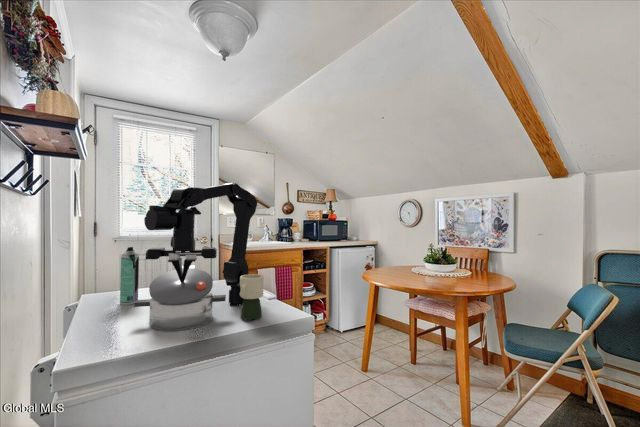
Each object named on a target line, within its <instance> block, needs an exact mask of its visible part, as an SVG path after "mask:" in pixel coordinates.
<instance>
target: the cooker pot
mask: <svg viewBox="0 0 640 427" xmlns="http://www.w3.org/2000/svg"><path fill="white" fill-rule="evenodd" d="M226 298H227V297H226V294H219V295H213V293H212V292H211V291H210V292H209V293H208V294H207V295H206V296H204V297H203V298H201V299H199V300H197V301H194V302H191V303H188V304H182V305H166V304H162V303H159V302H157V301H155V300H153V299H152V297H150V299H149V298H148V299H138V300H137V301H136V302H135V303H134V304H133V305H134V306H133V307H134V308H139V307H140V308H141V307H149V318H148V319H149V323H148V324H149V325H148V326H149V328H150V329H152V330H153V331H158V332H159V331H160V332H180V331H187V330H192V329H196V328H199V327H202V326H204V325H206V324H207V325H208V324H209V323H210V322H211V321H212V319H213V303H217V302H218V303H219V302H226Z"/></svg>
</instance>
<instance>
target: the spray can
mask: <svg viewBox="0 0 640 427" xmlns="http://www.w3.org/2000/svg"><path fill="white" fill-rule="evenodd" d="M139 267H140V255H139V253H138V252H137V251H135V249H134V247H133V246H128V247H127V248H126V250H125V252H123V253H121V256H120V279H119V280H120V283H119V284H120V288H119V290H120V291H119V305H121V306H130V305H134V303H135V302H136V301H137V300H139V273H140V270H139V269H140V268H139Z"/></svg>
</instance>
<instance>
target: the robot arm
mask: <svg viewBox="0 0 640 427" xmlns="http://www.w3.org/2000/svg"><path fill="white" fill-rule="evenodd" d="M225 196H226V198H227V199H228V202H230V203H231V204H232V206H233V207H232V210H233V213H234V215H235V224H234V232H233V241H232V247H231V248H232V249H231V253H230V254H231V255H230V258H229V259H228V261H224V263H223V270H222V271H221V272H222V277H223V279H224V280H225V284H226V286H229V287H230V289H229V290H228V303H229V305H230V306H231V307H232V306H242V304H243V301H244V298H242V297H241V296H240V291H241V288H240V276H242V275H248V274H249V264H248V263H247V260H246V254H247V248H248V247H247V246H248V239H249V231H250V223H251V219H252V217H253V216H254V215H255V213H256V210H257V207H258V199H257V198H256V196H255V195H253V194H252V193H251V192H249V191H248V190H246V189H245V188H242V187H241V186H240V185H239V184H238V183H236V182H229V183H228V182H227V183H224V184H219V185H213V186H206V187H195V186H194V187H191V186H189V187H176V188H174V189H172V191H171V193H170V196H169V198H168V199H167V200H166V201H165V203H164V204H163V206H162V205H161V206H160V205H153V204H152V205H149V210H148V211H146V214H145V217H143V218H144V226H145V229H146V230H148V231H171V230H172V231H173V232H172V236H171V239H170V247H171V248H172V249H168V250H167V249H166V248H165V247H151V248H148V249H147V250H146V252H145V260H158V259H160V258H162V257H168V260H167V262H168V263H171V264H172V266H173V267H174V270H176V272H177V274H178V277H179V279H180V282H181V283H182V282H184V281H185V278H186V275H187V272H188V269H189V267H190V265H192V263H194V262H196V261H197V259H198V257H202V258H203V259H217V254H218V252H217V251H218V250H217V248H216V247H215V246H214V247H213V246H211V247H208V246H206V247H202V249H196V240H195V219H196V218H195V216H197V215H198V216H199V215H200V216H201V215H202V212H201V211H200V210H199V209H198V208H197V207H196V206H197V205H199V204H202V203H203V202H204V201H206V200H211V199H216V198H221V197H225ZM177 210H178V211H177ZM182 257H185V259H184V261H183V258H182ZM182 266H184V267H183V272H182Z"/></svg>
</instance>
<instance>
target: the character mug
mask: <svg viewBox="0 0 640 427" xmlns="http://www.w3.org/2000/svg"><path fill="white" fill-rule="evenodd" d="M264 281H265V280H264V275H262V274H255V273H251V274H250V273H248V275H242V276H240V288H241V291H240V296H241V297H242V298H244V301H243V304H242V305H241V312H240V319H242V320H248V321H249V320H257V319H260V318H262V315H263V314H262V306H261V305H262V304H261V300H260V298H262V297H263V296H264Z"/></svg>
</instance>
